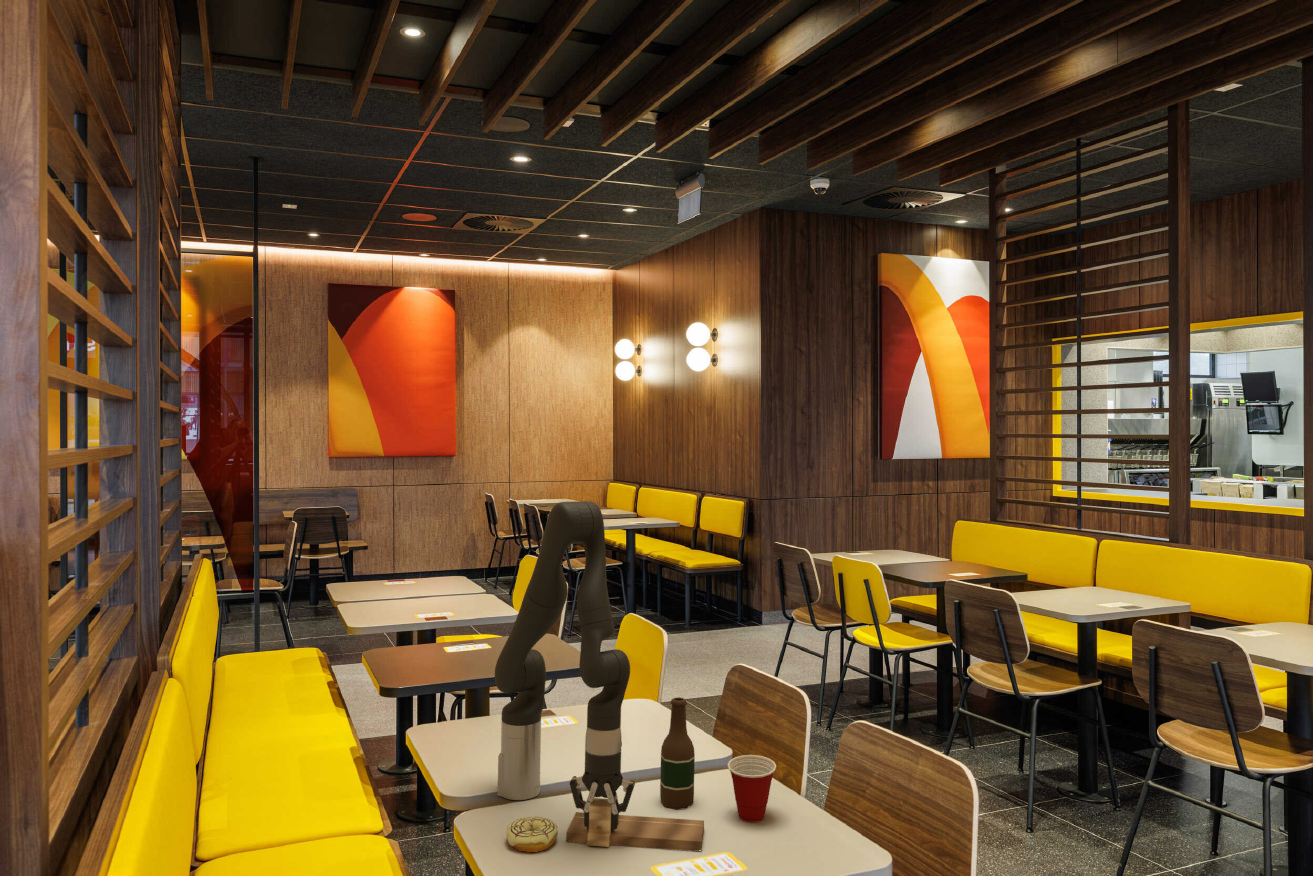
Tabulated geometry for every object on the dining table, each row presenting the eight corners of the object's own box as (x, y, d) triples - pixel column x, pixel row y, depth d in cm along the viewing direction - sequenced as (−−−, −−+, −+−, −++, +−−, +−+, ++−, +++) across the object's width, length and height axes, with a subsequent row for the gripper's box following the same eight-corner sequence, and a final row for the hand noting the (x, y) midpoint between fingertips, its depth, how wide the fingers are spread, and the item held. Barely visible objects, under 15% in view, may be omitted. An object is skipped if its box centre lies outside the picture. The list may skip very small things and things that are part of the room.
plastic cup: (718, 821, 195) (719, 766, 195) (737, 803, 205) (738, 751, 205) (765, 832, 190) (766, 776, 190) (782, 813, 200) (783, 760, 200)
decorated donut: (503, 855, 178) (503, 837, 178) (508, 831, 189) (509, 814, 189) (555, 854, 179) (556, 836, 179) (558, 831, 190) (558, 813, 190)
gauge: (587, 845, 182) (588, 808, 182) (596, 824, 191) (596, 789, 191) (608, 846, 181) (609, 809, 181) (616, 826, 191) (617, 791, 191)
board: (566, 842, 184) (566, 832, 184) (575, 821, 194) (576, 812, 194) (701, 851, 181) (701, 841, 181) (703, 829, 191) (704, 820, 191)
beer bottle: (694, 797, 208) (696, 694, 208) (692, 811, 200) (694, 704, 200) (661, 795, 209) (663, 693, 209) (658, 809, 201) (660, 703, 201)
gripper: (565, 751, 182) (563, 834, 182) (634, 756, 180) (632, 840, 180) (573, 739, 189) (571, 819, 189) (639, 743, 188) (637, 824, 188)
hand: (601, 828), depth 185 cm, fingers closed on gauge, 4 cm apart
